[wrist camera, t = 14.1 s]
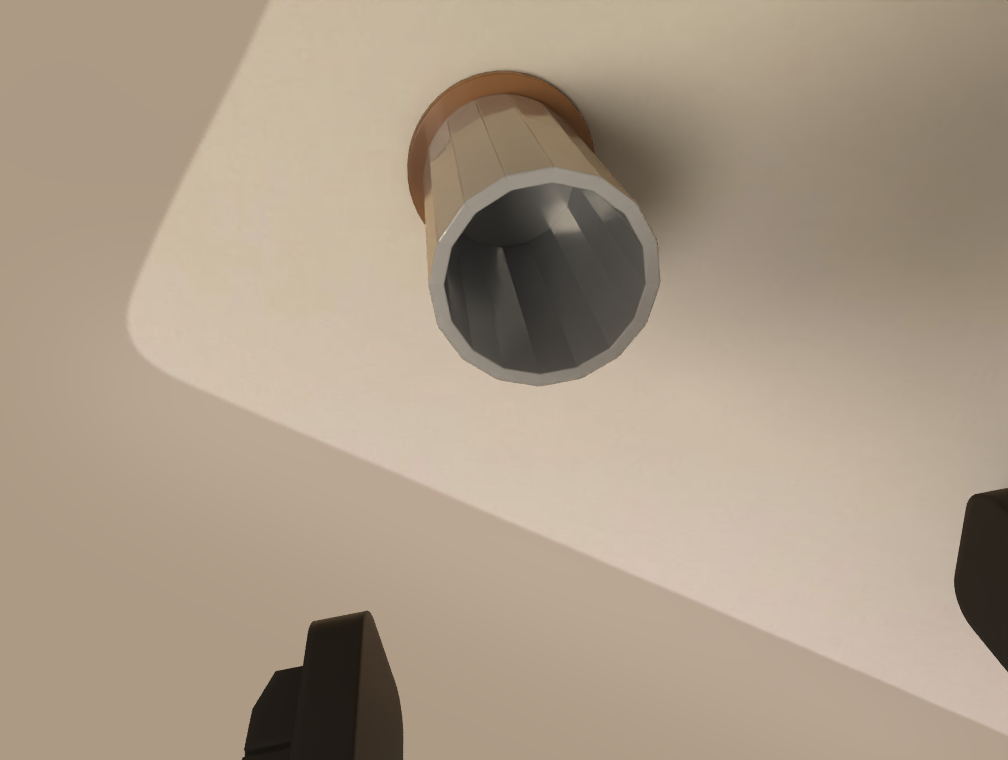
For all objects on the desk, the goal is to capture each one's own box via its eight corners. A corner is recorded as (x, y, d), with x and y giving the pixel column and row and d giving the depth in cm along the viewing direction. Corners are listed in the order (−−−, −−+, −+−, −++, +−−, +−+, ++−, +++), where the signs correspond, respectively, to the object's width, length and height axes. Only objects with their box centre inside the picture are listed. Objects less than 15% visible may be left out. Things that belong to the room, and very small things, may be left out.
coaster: (388, 90, 29) (387, 93, 28) (582, 54, 29) (585, 56, 28) (428, 272, 32) (428, 278, 32) (601, 239, 32) (604, 244, 32)
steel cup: (408, 109, 29) (408, 193, 19) (571, 79, 29) (652, 147, 19) (441, 263, 32) (455, 403, 22) (588, 235, 32) (666, 362, 22)
